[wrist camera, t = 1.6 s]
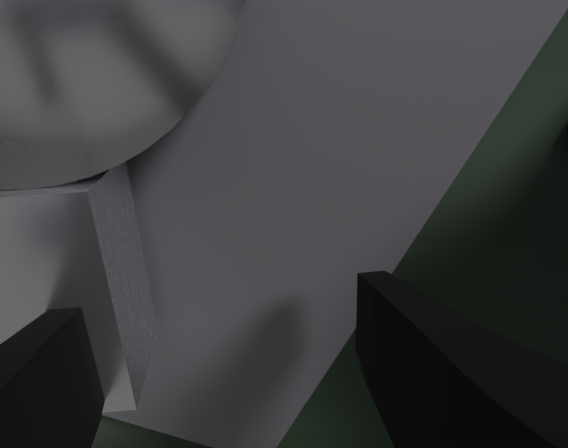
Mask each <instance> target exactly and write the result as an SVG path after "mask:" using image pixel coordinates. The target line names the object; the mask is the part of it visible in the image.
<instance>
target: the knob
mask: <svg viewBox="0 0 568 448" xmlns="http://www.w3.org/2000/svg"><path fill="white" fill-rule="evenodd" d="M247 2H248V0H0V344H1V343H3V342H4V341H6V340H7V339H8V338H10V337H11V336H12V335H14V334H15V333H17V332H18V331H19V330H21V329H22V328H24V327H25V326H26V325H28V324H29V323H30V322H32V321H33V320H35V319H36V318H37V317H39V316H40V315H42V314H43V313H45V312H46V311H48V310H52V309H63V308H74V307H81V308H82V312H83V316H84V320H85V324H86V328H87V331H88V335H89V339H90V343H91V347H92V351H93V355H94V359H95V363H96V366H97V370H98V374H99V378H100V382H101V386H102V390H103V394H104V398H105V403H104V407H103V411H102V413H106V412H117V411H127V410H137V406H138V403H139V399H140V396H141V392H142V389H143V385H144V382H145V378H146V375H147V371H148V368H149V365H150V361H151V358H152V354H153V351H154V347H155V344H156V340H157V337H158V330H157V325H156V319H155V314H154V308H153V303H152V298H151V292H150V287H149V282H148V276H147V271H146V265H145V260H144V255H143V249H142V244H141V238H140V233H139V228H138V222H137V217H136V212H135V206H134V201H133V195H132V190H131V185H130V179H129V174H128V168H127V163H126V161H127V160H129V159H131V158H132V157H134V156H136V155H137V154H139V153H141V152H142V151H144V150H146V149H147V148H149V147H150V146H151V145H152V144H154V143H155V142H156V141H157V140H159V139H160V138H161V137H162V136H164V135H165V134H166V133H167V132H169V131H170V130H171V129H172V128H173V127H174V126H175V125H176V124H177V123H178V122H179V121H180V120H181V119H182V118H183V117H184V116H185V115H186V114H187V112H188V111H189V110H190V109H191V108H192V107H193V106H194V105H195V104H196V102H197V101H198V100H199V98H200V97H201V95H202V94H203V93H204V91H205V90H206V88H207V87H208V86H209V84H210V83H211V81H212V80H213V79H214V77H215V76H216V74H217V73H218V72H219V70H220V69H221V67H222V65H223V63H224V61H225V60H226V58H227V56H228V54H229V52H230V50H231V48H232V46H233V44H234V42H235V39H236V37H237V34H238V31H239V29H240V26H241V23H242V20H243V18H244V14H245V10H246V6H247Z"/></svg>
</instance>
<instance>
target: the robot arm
mask: <svg viewBox="0 0 568 448" xmlns="http://www.w3.org/2000/svg"><path fill="white" fill-rule="evenodd" d="M356 350H357V354H358V357H359V361H360V364H361V367H362V371H363V374H364V377H365V380H366V383H367V386H368V389H369V391H370V393H371V396H372V398H373V400H374V402H375V405H376V407H377V409H378V411H379V413H380V416H381V418H382V420H383V422H384V424H385V427H386V429H387V431H388V433H389V435H390V438H391V440H392V442H393V444H394V446H395V448H568V365H567V364H565V363H562V362H559V361H557V360H554V359H552V358H549V357H547V356H545V355H542V354H540V353H538V352H535V351H533V350H531V349H528V348H526V347H524V346H521V345H519V344H517V343H515V342H513V341H510V340H508V339H506V338H504V337H502V336H500V335H498V334H496V333H494V332H492V331H490V330H488V329H486V328H484V327H482V326H480V325H478V324H476V323H474V322H472V321H471V320H469V319H467V318H465V317H463V316H461V315H460V314H458V313H456V312H454V311H453V310H451V309H449V308H447V307H446V306H444V305H442V304H440V303H439V302H437V301H435V300H434V299H432V298H430V297H429V296H427V295H425V294H424V293H422V292H420V291H419V290H417V289H415V288H414V287H412V286H410V285H409V284H407V283H405V282H404V281H402V280H400V279H399V278H397V277H395V276H394V275H392V274H390V273H388V272H386V271H374V272H363V273H357V314H356ZM104 403H105V398H104V394H103V390H102V386H101V382H100V378H99V374H98V370H97V366H96V363H95V359H94V355H93V351H92V347H91V343H90V339H89V335H88V331H87V328H86V324H85V320H84V316H83V312H82V308H81V307H74V308H63V309H52V310H48V311H46V312H45V313H43V314H42V315H40V316H39V317H37V318H36V319H35V320H33V321H32V322H30V323H29V324H28V325H26V326H25V327H24V328H22V329H21V330H19V331H18V332H17V333H15V334H14V335H12V336H11V337H10V338H8V339H7V340H6V341H4V342H3V343H1V344H0V448H91V446H92V444H93V441H94V438H95V435H96V432H97V429H98V426H99V423H100V420H101V416H102V411H103V407H104Z"/></svg>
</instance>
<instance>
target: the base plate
mask: <svg viewBox="0 0 568 448" xmlns="http://www.w3.org/2000/svg"><path fill="white" fill-rule="evenodd" d="M567 9H568V0H248V2H247V6H246V10H245V14H244V18H243V20H242V23H241V26H240V29H239V31H238V34H237V37H236V39H235V42H234V44H233V46H232V48H231V50H230V52H229V54H228V56H227V58H226V60H225V61H224V63H223V65H222V67H221V69H220V70H219V72H218V73H217V74H216V76H215V77H214V79H213V80H212V81H211V83H210V84H209V86H208V87H207V88H206V90H205V91H204V93H203V94H202V95H201V97H200V98H199V100H198V101H197V102H196V104H195V105H194V106H193V107H192V108H191V109H190V110H189V111H188V112H187V114H186V115H185V116H184V117H183V118H182V119H181V120H180V121H179V122H178V123H177V124H176V125H175V126H174V127H173V128H172V129H171V130H170V131H169V132H167V133H166V134H165V135H164V136H162V137H161V138H160V139H159V140H157V141H156V142H155V143H154V144H152V145H151V146H150V147H149V148H147V149H146V150H144V151H142V152H141V153H139V154H137V155H136V156H134V157H132V158H131V159H129V160H127V161H126V163H127V168H128V174H129V179H130V185H131V190H132V195H133V201H134V206H135V212H136V217H137V222H138V228H139V233H140V238H141V244H142V249H143V255H144V260H145V265H146V271H147V276H148V282H149V287H150V292H151V298H152V303H153V308H154V314H155V319H156V325H157V330H158V337H157V340H156V344H155V347H154V351H153V354H152V358H151V361H150V365H149V368H148V371H147V375H146V378H145V382H144V385H143V389H142V392H141V396H140V399H139V403H138V406H137V410H127V411H117V412H106V413H102V415H104V416H107V417H110V418H114V419H117V420H120V421H124V422H127V423H131V424H134V425H137V426H141V427H144V428H148V429H151V430H154V431H158V432H161V433H164V434H168V435H171V436H175V437H178V438H181V439H185V440H188V441H192V442H195V443H198V444H202V445H205V446H208V447H212V448H277V446H278V445H279V443H280V442H281V440H282V439H283V437H284V435H285V434H286V432H287V431H288V429H289V428H290V426H291V425H292V423H293V422H294V420H295V419H296V417H297V416H298V414H299V413H300V411H301V410H302V408H303V407H304V405H305V404H306V402H307V401H308V399H309V398H310V396H311V395H312V393H313V392H314V390H315V389H316V387H317V386H318V384H319V383H320V381H321V380H322V378H323V377H324V375H325V374H326V372H327V371H328V369H329V368H330V366H331V365H332V363H333V362H334V360H335V359H336V357H337V356H338V354H339V353H340V351H341V350H342V348H343V347H344V345H345V344H346V342H347V340H348V339H349V337H350V336H351V334H352V333H353V331H354V330H355V328H356V314H357V273H363V272H374V271H386V272H388V273H390V274H392V273H393V271H394V270H395V268H396V267H397V265H398V264H399V262H400V261H401V259H402V258H403V256H404V255H405V253H406V252H407V250H408V249H409V247H410V245H411V244H412V242H413V241H414V239H415V238H416V236H417V235H418V233H419V232H420V230H421V229H422V227H423V226H424V224H425V223H426V221H427V220H428V218H429V217H430V215H431V214H432V212H433V211H434V209H435V208H436V206H437V205H438V203H439V202H440V200H441V199H442V197H443V196H444V194H445V193H446V191H447V190H448V188H449V187H450V185H451V184H452V182H453V181H454V179H455V178H456V176H457V175H458V173H459V172H460V170H461V169H462V167H463V166H464V164H465V163H466V161H467V160H468V158H469V157H470V155H471V154H472V152H473V150H474V149H475V147H476V146H477V144H478V143H479V141H480V140H481V138H482V137H483V135H484V134H485V132H486V131H487V129H488V128H489V126H490V125H491V123H492V122H493V120H494V119H495V117H496V116H497V114H498V113H499V111H500V110H501V108H502V107H503V105H504V104H505V102H506V101H507V99H508V98H509V96H510V95H511V93H512V92H513V90H514V89H515V87H516V86H517V84H518V83H519V81H520V80H521V78H522V77H523V75H524V74H525V72H526V71H527V69H528V68H529V66H530V65H531V63H532V62H533V60H534V59H535V57H536V55H537V54H538V52H539V51H540V49H541V48H542V46H543V45H544V43H545V42H546V40H547V39H548V37H549V36H550V34H551V33H552V31H553V30H554V28H555V27H556V25H557V24H558V22H559V21H560V19H561V18H562V16H563V15H564V13H565V12H566V10H567Z"/></svg>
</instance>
